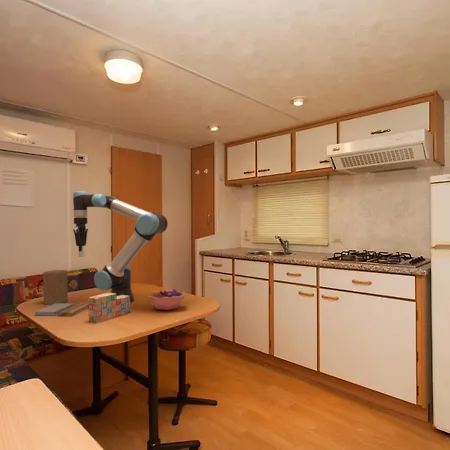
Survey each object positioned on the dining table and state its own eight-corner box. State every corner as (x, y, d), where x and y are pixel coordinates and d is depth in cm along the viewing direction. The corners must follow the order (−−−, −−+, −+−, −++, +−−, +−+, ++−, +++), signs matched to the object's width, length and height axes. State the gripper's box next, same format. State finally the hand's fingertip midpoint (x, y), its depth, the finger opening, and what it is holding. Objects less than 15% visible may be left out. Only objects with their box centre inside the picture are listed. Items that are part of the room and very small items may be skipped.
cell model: (154, 305, 194) (153, 286, 194) (187, 305, 193) (187, 286, 192) (145, 313, 177) (145, 292, 177) (182, 313, 176) (181, 292, 176)
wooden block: (57, 305, 198) (56, 272, 197) (43, 304, 200) (42, 272, 199) (68, 301, 207) (67, 269, 207) (54, 300, 209) (54, 269, 209)
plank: (74, 307, 192) (74, 303, 192) (56, 315, 174) (56, 311, 174) (55, 306, 193) (55, 303, 193) (34, 315, 175) (34, 311, 175)
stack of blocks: (122, 311, 182) (122, 289, 182) (130, 312, 179) (130, 290, 178) (88, 321, 164) (88, 296, 164) (96, 323, 161) (96, 298, 160)
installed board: (91, 307, 192) (91, 303, 192) (72, 316, 172) (72, 312, 172) (78, 307, 193) (78, 303, 193) (57, 316, 173) (57, 312, 173)
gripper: (80, 217, 203) (81, 255, 203) (68, 217, 190) (69, 258, 190) (91, 217, 202) (92, 255, 202) (80, 217, 189) (81, 257, 189)
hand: (81, 256), depth 196 cm, fingers closed
